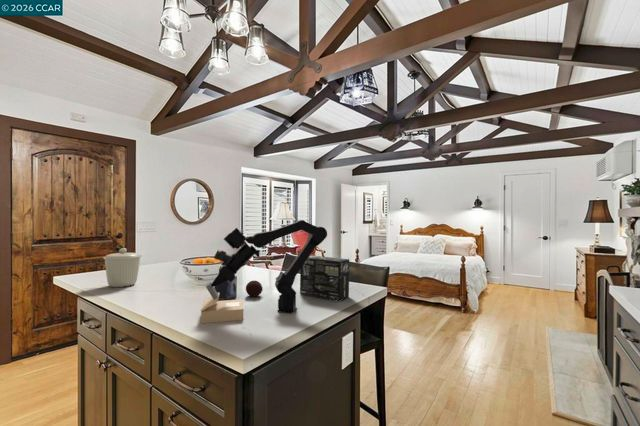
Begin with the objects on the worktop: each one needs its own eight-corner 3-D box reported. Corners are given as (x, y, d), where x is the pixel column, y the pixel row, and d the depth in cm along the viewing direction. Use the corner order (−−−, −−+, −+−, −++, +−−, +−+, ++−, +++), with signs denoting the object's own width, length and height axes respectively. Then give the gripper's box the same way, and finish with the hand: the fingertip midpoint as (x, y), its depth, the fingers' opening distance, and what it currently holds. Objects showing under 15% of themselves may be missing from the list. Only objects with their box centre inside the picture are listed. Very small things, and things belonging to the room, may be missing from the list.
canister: (145, 285, 170) (146, 248, 170) (107, 291, 157) (107, 250, 157) (135, 280, 182) (136, 246, 183) (99, 285, 169) (100, 248, 170)
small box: (226, 303, 136) (226, 279, 136) (213, 302, 137) (213, 279, 137) (237, 297, 146) (237, 275, 146) (225, 296, 147) (225, 274, 148)
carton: (242, 308, 127) (242, 299, 127) (243, 319, 114) (243, 308, 114) (205, 311, 123) (205, 301, 123) (201, 323, 110) (201, 311, 110)
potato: (248, 299, 142) (249, 283, 142) (243, 295, 150) (243, 279, 150) (265, 297, 146) (265, 281, 146) (258, 293, 154) (258, 278, 154)
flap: (219, 293, 124) (211, 279, 124) (217, 301, 112) (208, 286, 111) (205, 302, 123) (196, 288, 122) (201, 311, 110) (191, 296, 110)
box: (349, 297, 147) (349, 258, 147) (339, 302, 139) (340, 260, 139) (310, 290, 159) (310, 255, 160) (299, 294, 151) (299, 257, 151)
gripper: (227, 241, 128) (199, 267, 125) (226, 245, 110) (192, 276, 107) (246, 259, 130) (218, 286, 127) (247, 266, 112) (215, 297, 109)
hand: (211, 285), depth 118 cm, fingers closed, pressing on flap
